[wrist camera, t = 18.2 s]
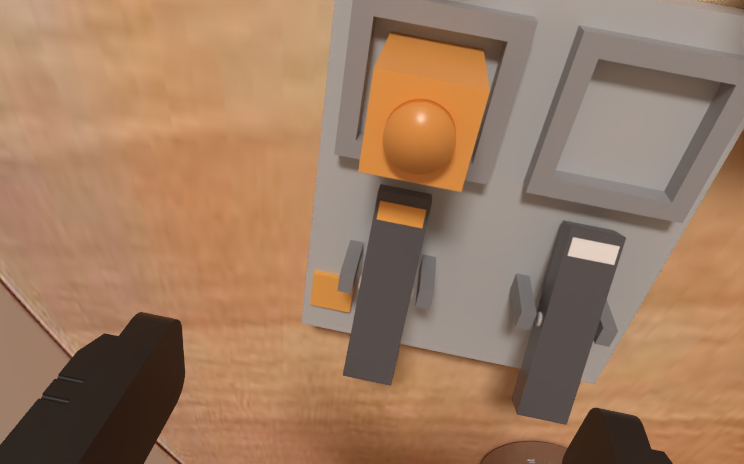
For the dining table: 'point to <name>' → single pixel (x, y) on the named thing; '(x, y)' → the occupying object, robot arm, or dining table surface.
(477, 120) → the cap
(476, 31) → the breaker panel
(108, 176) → the dining table surface
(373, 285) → the breaker
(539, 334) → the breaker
